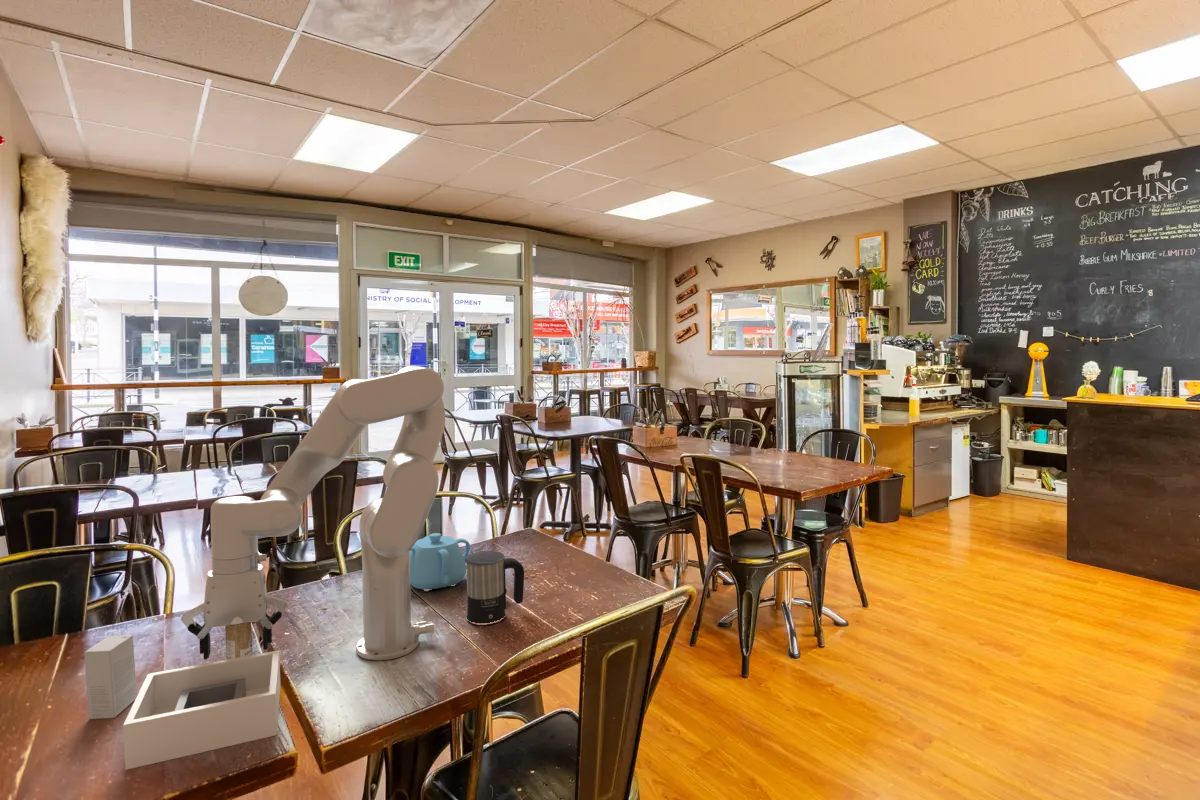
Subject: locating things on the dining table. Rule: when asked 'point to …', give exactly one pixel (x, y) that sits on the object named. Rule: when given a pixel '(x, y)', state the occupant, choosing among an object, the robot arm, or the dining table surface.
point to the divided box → (203, 709)
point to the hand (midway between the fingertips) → (237, 651)
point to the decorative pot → (437, 562)
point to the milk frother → (490, 585)
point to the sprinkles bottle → (238, 639)
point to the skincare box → (110, 676)
